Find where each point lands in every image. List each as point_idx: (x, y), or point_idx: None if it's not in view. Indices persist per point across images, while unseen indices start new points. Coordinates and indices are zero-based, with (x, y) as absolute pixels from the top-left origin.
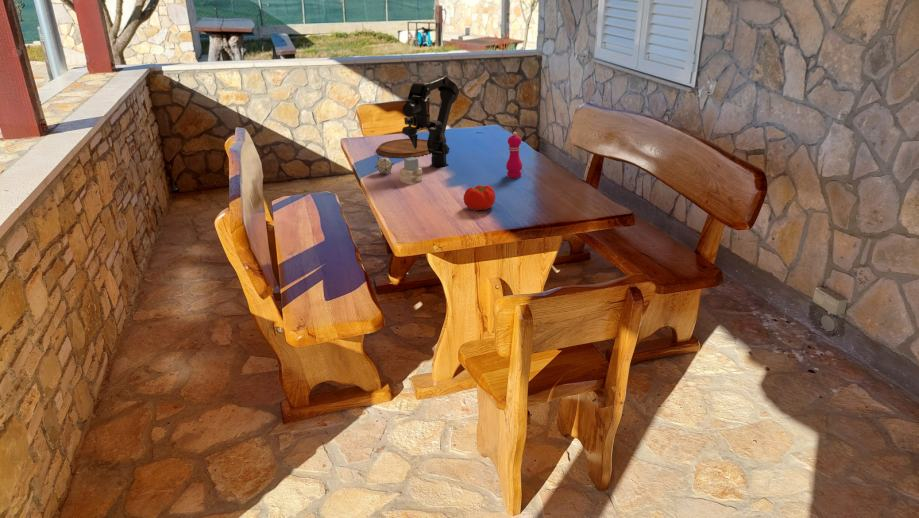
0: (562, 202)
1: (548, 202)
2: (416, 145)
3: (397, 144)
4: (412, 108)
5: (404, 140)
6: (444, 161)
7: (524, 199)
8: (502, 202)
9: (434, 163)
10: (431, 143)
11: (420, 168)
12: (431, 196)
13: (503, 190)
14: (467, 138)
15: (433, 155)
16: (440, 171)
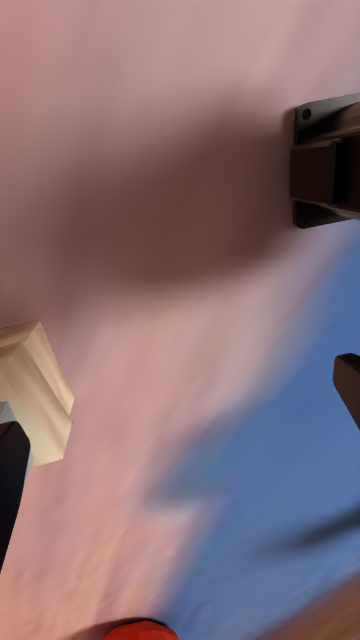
0: (314, 634)
1: (293, 630)
2: (7, 517)
3: None
4: None
5: None
6: None
7: (268, 613)
8: (210, 616)
9: (300, 194)
10: (343, 392)
11: (50, 455)
12: (41, 550)
13: (280, 567)
14: None
15: (354, 165)
16: (258, 297)
